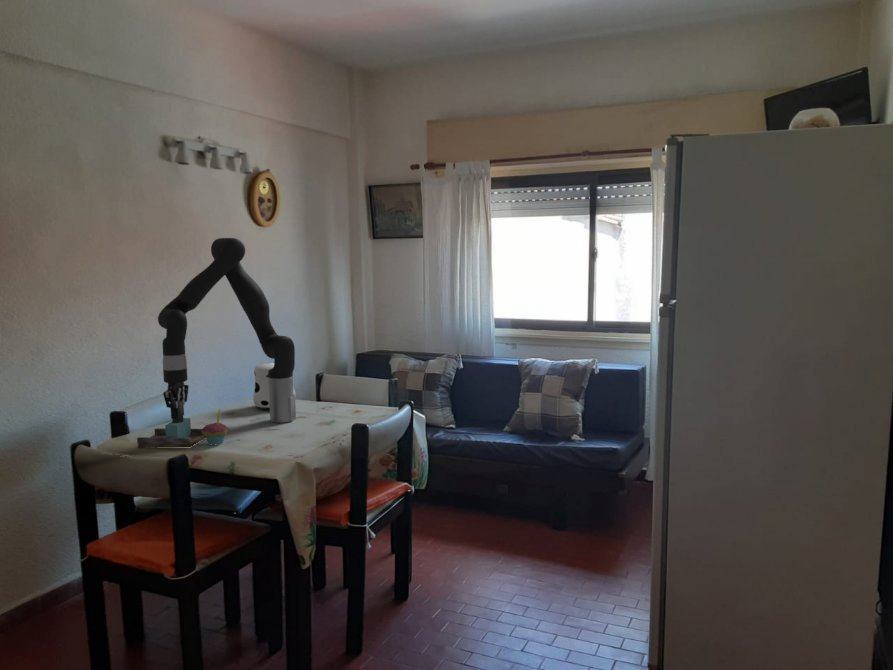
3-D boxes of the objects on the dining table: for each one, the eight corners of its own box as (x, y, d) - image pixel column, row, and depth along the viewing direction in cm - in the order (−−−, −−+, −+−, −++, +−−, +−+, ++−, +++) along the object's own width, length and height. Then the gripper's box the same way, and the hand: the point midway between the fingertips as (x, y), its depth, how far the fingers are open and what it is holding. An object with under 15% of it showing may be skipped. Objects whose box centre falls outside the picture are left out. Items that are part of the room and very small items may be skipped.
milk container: (291, 412, 271) (289, 368, 269) (248, 412, 271) (246, 369, 269) (299, 402, 288) (298, 362, 286) (260, 403, 288) (258, 362, 286)
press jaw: (191, 434, 231) (189, 398, 229) (177, 442, 221) (175, 404, 219) (180, 434, 231) (177, 398, 229) (166, 442, 221) (164, 404, 219)
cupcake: (230, 439, 230) (228, 406, 229) (226, 446, 222) (224, 411, 220) (204, 441, 229) (202, 407, 227) (199, 447, 220) (197, 412, 219)
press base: (206, 438, 232) (205, 428, 231) (190, 448, 219) (189, 438, 219) (156, 438, 233) (155, 428, 233) (137, 448, 220) (137, 438, 220)
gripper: (175, 371, 216) (178, 422, 218) (195, 364, 230) (197, 412, 232) (153, 371, 216) (156, 422, 218) (174, 364, 230) (176, 412, 232)
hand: (177, 417), depth 225 cm, fingers closed on press jaw, 3 cm apart
